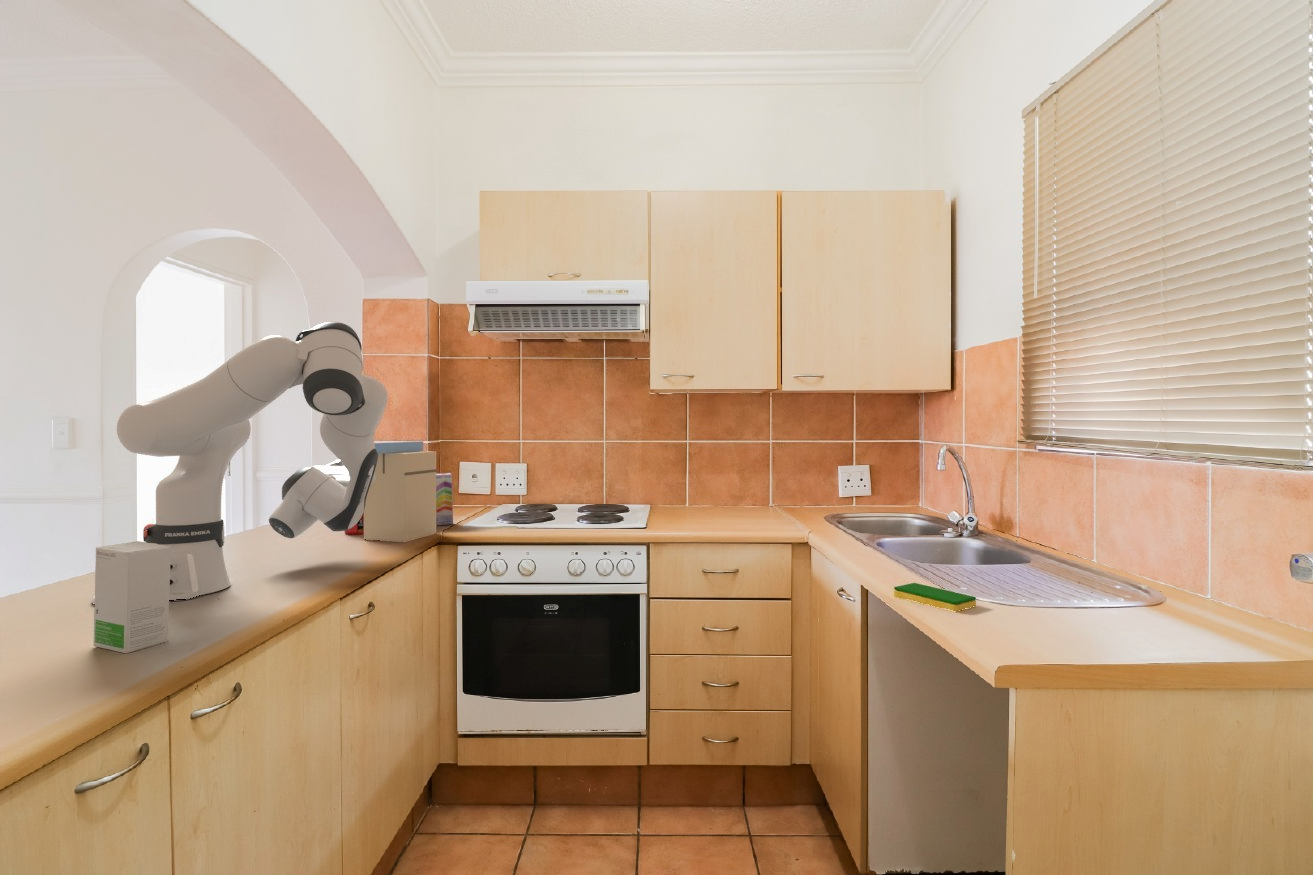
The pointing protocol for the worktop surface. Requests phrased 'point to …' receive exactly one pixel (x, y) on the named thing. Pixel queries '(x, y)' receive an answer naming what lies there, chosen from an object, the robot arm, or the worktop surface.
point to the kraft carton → (402, 497)
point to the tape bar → (398, 446)
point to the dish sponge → (934, 596)
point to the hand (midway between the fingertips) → (355, 461)
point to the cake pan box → (444, 499)
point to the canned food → (357, 527)
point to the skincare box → (131, 596)
